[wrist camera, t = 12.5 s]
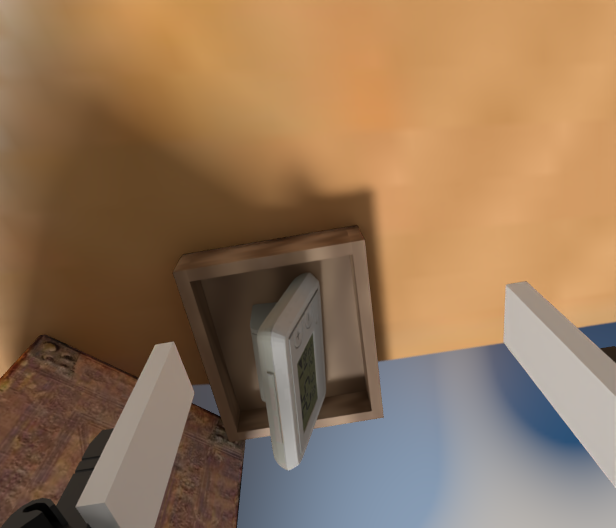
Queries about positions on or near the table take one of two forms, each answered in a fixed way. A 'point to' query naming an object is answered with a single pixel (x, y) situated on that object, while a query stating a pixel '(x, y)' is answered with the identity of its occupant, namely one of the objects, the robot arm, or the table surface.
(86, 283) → the table surface
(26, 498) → the book
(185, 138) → the table surface
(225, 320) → the brown rectangular tray
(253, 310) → the digital clock
